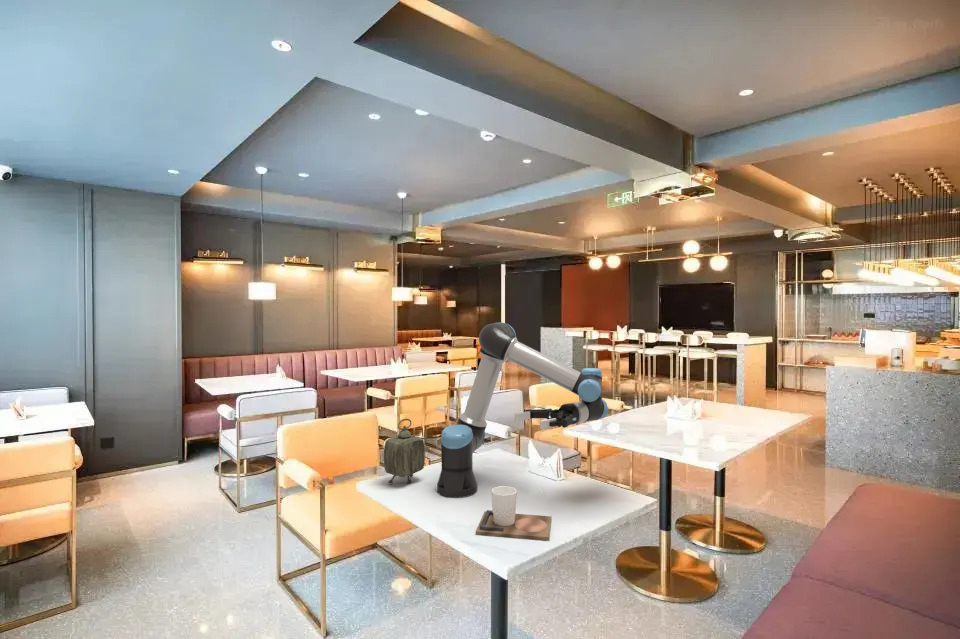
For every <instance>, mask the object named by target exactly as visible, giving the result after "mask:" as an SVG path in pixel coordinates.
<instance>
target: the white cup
mask: <svg viewBox="0 0 960 639" xmlns="http://www.w3.org/2000/svg"><path fill="white" fill-rule="evenodd" d="M491 505H492V506H491V507H492V511H493V521H494V523H495V524H496V525H499V526H510V525H513V524H514V523H515V514H517V510H516V509H517V489H516V488H515V487H512V486H509V485H508V486H507V485H501V486H495V487H493V488H492V489H491Z"/></svg>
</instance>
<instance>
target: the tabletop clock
mask: <svg viewBox="0 0 960 639" xmlns="http://www.w3.org/2000/svg"><path fill="white" fill-rule="evenodd" d="M404 421H408V422H409V425H408V426H406V425H404V426H402V427H403V428H401V427H400V425H401V423H402V422H404ZM411 426H412V420H411V419H410V418H403V419H400V421H399V422H398V423H397V428H398V429H399V430H400V431H399V433H398V435H394V436H392V437H390V438H388V439H386V440H385V443H384V446H383V466H384V467H383V468H384V470H385V473H387V474H390V475H392V477H391V479H390V480H388V484H389V483H392V484H393V482H394V479H395V478H396V477H400V478H406V477H407V480H406V482H407V484H411V483H412V480H411V478H412V477H414V474H416V473H418V472H420V471H422V470H423V469H424V467H425V461H426V460H425V458H426V451H425V450H426V448H425V443H424V442H425V441H424V439H423V438H422V437H420V436H415V435H412V434H411V432H410V430H408V429H409V428H410V427H411Z"/></svg>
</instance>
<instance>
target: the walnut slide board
mask: <svg viewBox="0 0 960 639" xmlns="http://www.w3.org/2000/svg"><path fill="white" fill-rule="evenodd" d="M551 526H552V516H551V515H550V516H549V515H538V514H537V515H536V514H523V513H516V514H515V523H514V524H513V525H510V526H499V525H496V524H495V523H494V521H493V510H491V509H490V510H489V509H487V510H486V511H485V510H484V512H483V514H482V516H481V519H480V521H479V523H478V525H477V527H476V530H475V535H477V536H478V535H479V536H488V537H500V538H501V537H502V538H513V539H522V540H523V539H524V540H525V539H527V540H534V539H535V541H536V540H537V541H546V540H548V541H550V537H551V536H550V534H551ZM548 541H547V542H548Z"/></svg>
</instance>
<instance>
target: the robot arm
mask: <svg viewBox="0 0 960 639" xmlns="http://www.w3.org/2000/svg"><path fill="white" fill-rule="evenodd" d="M478 343H479V346H480V349H479V354H480V356H481V358H480V361H479V365H478V367H477V371H476V373H475V376H474V377H475V378H474V380H473V382H472V383H473V384H472V387H471V389H470V393H469V396H468V399H467V404H466V406H465V409H464V412H463V413H460V414H459V415H458V419H457V422H456V424H452V425H450V426H449V425H448V426H447V427H445V428H443V429H442V431H441V436H440V437H441V438H440V444H441V447H440V449H441V452H440V453H441V455H440V456H441V459H440V460H441V461H440V462H441V471H440V475H439V477H438V480H437V484H436V492H437V493H438V495H440V496H443V497H445V498H446V497H447V498H454V499H455V498H456V499H457V498H464V497H465V498H466V497H470V496H472V495H474V494H477V492H478V483H477V479H476V476H475V473H474V470H473V468H474V467H473V455H474V453H475V451H476V450H477V449H480V447H481V446H482V445H483V443H484V441H485V436H486V429H487V425H488V424H487V421H486V420H485V419H486V416H487V412H488V410H489V407H490V404H491V400H492V399H493V398H492V397H493V394H494V390H495V388H496V385H497V382H498V379H499V375H500V372H501V370H502V367H503V364H504V363H505V362H507V361H510V362H512V363H515V364H516V365H518V366H520V367H522V368H523V369H525V370H528V371H530V372H531V373H534V374H535V375H537V376H540V377H542V378H543V379H545V380H548V381H550V382H551V383H554V384H556V385H557V386H560V387H561V388H564V389H565V390H568V391H570V392H572V393H573V394H575V395H576V396H579V397H580V399H581V401H577V402H576V401H575V402H569V403H564V404H562V405H561V406H559V408H558V409H557V408H556V409H552V408H545V409H541V408H540V409H525V411H523V412H517V413H514V422H523V421H530V420H531V419H542V420H540V421H539V428H540V430H546V429H551V428H556V427H558V428H560V427H562V428H563V429H565V428H567V427H568V426H571V425H580V424H581V423H587V422H594V421H598V420H602V419H604V418H605V417H607V415H608V413H609V406H608V403H607V402H606V400H605V399H603V397H602V393H603V391H602V390H603V373H602V369H600V368H596V367H586V368H585V367H584V368H583V369H581V372H580V371H578V370H576V369H575V368H572V367H571V366H568V365H566V364H565V363H562V362H560V361H558V360H556V359H554V358H552V357H550V356H548V355H546V354H544V353H542V352H540V351H539V350H536V349H534V348H532V347H530V346H528V345H526V344H524V343H523V342H520V341H518V338H517V334H516V331H515V329H514V328H513V327H512V326H511V325H510V324H509V323H506V322H502V321H498V322H493V323H489V324H487V325H485V326H484V327H483V328H482V329H481V330H480V332H479V334H478Z"/></svg>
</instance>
